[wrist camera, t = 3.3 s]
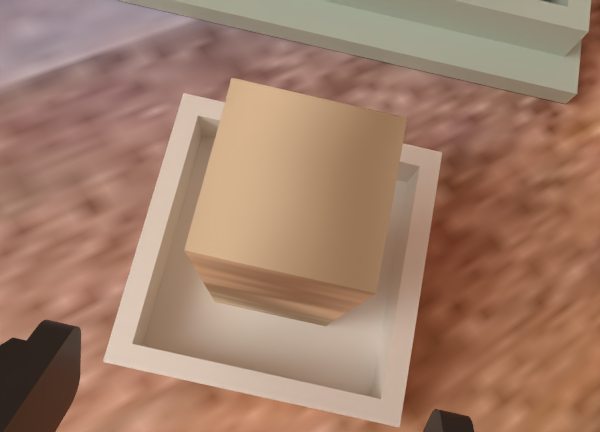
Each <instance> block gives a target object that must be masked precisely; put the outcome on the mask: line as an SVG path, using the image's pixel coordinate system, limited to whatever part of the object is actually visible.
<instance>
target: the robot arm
mask: <svg viewBox="0 0 600 432" xmlns="http://www.w3.org/2000/svg"><path fill="white" fill-rule="evenodd" d="M80 358H81V330H80V328H79V327H76V326H72V325H67V324H63V323H58V322H54V321H50V320H44V321H42V322H41V323H40V324H39V325H38V327H37V328H36V329H35V330H34V332H33V333H32V334H31V336H30V337H29V338H28V340H27V341H25V340H21V339H16V338H12V339H10V340H8V341H7V342H5V343H3V344H2V345H0V432H55V431H56V429H57V428H58V426H59V424H60V423H61V421H62V419H63V417H64V416H65V414H66V412H67V411H68V409H69V407H70V405H71V404H72V402H73V399H74V397H75V395H76V392H77V389H78V385H79V380H80ZM423 432H474V428H473V424H472V421H471V419H470V417H469V416H465V415H460V414H456V413H451V412H447V411H443V410H438V409H435V410H434V411H433V412H432V414H431V416H430V418H429V420H428V422H427V424H426V427H425V429H424V431H423Z"/></svg>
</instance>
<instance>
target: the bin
mask: <svg viewBox="0 0 600 432" xmlns="http://www.w3.org/2000/svg"><path fill="white" fill-rule="evenodd" d="M224 104H225V102H221V101H216V100H212V99H208V98H203V97H199V96H194V95H190V94H186V93H183V96H182V100H181V103H180V106H179V110H178V113H177V116H176V120H175V123H174V126H173V130H172V133H171V136H170V140H169V143H168V146H167V150H166V153H165V156H164V160H163V163H162V166H161V170H160V173H159V176H158V180H157V183H156V186H155V190H154V193H153V196H152V200H151V203H150V206H149V210H148V213H147V216H146V220H145V223H144V226H143V230H142V233H141V236H140V240H139V243H138V246H137V250H136V253H135V256H134V260H133V263H132V266H131V270H130V273H129V276H128V280H127V283H126V286H125V290H124V293H123V296H122V300H121V303H120V307H119V310H118V313H117V317H116V320H115V323H114V327H113V330H112V333H111V337H110V340H109V343H108V347H107V350H106V353H105V357H104V360H103V362H106V363H110V364H115V365H119V366H124V367H128V368H133V369H137V370H142V371H146V372H151V373H155V374H160V375H165V376H169V377H174V378H178V379H183V380H187V381H192V382H196V383H201V384H205V385H210V386H214V387H219V388H223V389H228V390H232V391H237V392H241V393H246V394H250V395H255V396H259V397H264V398H268V399H273V400H277V401H282V402H287V403H291V404H296V405H300V406H305V407H309V408H314V409H318V410H323V411H327V412H332V413H336V414H341V415H345V416H350V417H354V418H359V419H363V420H368V421H372V422H377V423H381V424H386V425H390V426H395V427H399V428H400V422H401V416H402V409H403V403H404V397H405V390H406V384H407V377H408V371H409V364H410V358H411V351H412V345H413V338H414V332H415V325H416V319H417V313H418V306H419V300H420V293H421V287H422V280H423V274H424V267H425V261H426V254H427V248H428V242H429V235H430V229H431V222H432V216H433V209H434V203H435V196H436V190H437V183H438V177H439V171H440V164H441V158H442V152H439V151H434V150H430V149H426V148H421V147H417V146H413V145H408V144H404V143H403V146H402V151H401V157H400V163H399V168H398V174H397V180H396V185H395V191H394V197H393V202H392V208H391V214H390V219H389V225H388V231H387V236H386V242H385V248H384V253H383V259H382V265H381V270H380V276H379V282H378V287H377V293H376V294H375V295H373V296H372V297H370V298H369V299H367V300H366V301H364V302H363V303H361V304H359V305H358V306H356V307H355V308H353V309H352V310H350V311H349V312H347V313H345V314H344V315H342V316H341V317H339V318H338V319H336V320H335V321H333V322H331V323H330V324H328V325H327V326H321V325H316V324H312V323H308V322H303V321H299V320H294V319H290V318H285V317H281V316H276V315H272V314H267V313H263V312H258V311H254V310H249V309H245V308H240V307H236V306H232V305H227V304H223V303H218V302H215V301H214V300H213V298H212V296H211V295H210V293H209V291H208V290H207V288H206V286H205V285H204V283H203V281H202V280H201V278H200V276H199V275H198V273H197V271H196V269H195V268H194V266H193V264H192V263H191V261H190V259H189V258H188V256H187V254H186V253H185V251H184V249H185V245H186V242H187V238H188V235H189V231H190V227H191V224H192V220H193V216H194V213H195V209H196V206H197V202H198V198H199V195H200V191H201V187H202V184H203V180H204V177H205V173H206V169H207V166H208V162H209V158H210V155H211V151H212V148H213V144H214V140H215V137H216V133H217V129H218V126H219V122H220V119H221V115H222V111H223V108H224Z"/></svg>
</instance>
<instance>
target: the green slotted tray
mask: <svg viewBox="0 0 600 432" xmlns="http://www.w3.org/2000/svg"><path fill="white" fill-rule="evenodd" d="M118 1H123V2H127V3H131V4H136V5H140V6H144V7H148V8H153V9H157V10H161V11H166V12H170V13H174V14H179V15H183V16H187V17H192V18H196V19H200V20H205V21H209V22H213V23H218V24H222V25H226V26H231V27H235V28H239V29H244V30H248V31H252V32H257V33H261V34H265V35H269V36H274V37H278V38H282V39H287V40H291V41H295V42H300V43H304V44H308V45H313V46H317V47H321V48H326V49H330V50H334V51H339V52H343V53H347V54H352V55H356V56H360V57H365V58H369V59H373V60H378V61H382V62H386V63H390V64H395V65H399V66H403V67H408V68H412V69H416V70H421V71H425V72H429V73H434V74H438V75H442V76H447V77H451V78H455V79H460V80H464V81H468V82H473V83H477V84H481V85H486V86H490V87H494V88H499V89H503V90H507V91H511V92H516V93H520V94H524V95H529V96H533V97H537V98H542V99H546V100H550V101H555V102H559V103H563V104H566V103H567V102H568V101H570V100H571V99H572V98H573V97H574V96H575V95H577V89H578V78H579V66H580V55H581V43H582V38H583V37H584V36H585V35H586V34H587V33H588V32H589V22H590V10H591V0H118Z"/></svg>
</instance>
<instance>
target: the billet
mask: <svg viewBox="0 0 600 432" xmlns="http://www.w3.org/2000/svg"><path fill="white" fill-rule="evenodd" d="M406 123H407V118H405V117H400V116H396V115H392V114H387V113H383V112H379V111H374V110H370V109H366V108H361V107H357V106H353V105H348V104H344V103H340V102H335V101H331V100H326V99H322V98H318V97H313V96H309V95H305V94H300V93H296V92H292V91H287V90H283V89H279V88H274V87H270V86H266V85H261V84H257V83H253V82H248V81H244V80H240V79H235V78H232V79H231V82H230V86H229V90H228V93H227V97H226V100H225V104H224V108H223V111H222V115H221V119H220V122H219V126H218V129H217V133H216V137H215V140H214V144H213V148H212V151H211V155H210V158H209V162H208V166H207V169H206V173H205V177H204V180H203V184H202V187H201V191H200V195H199V198H198V202H197V206H196V209H195V213H194V216H193V220H192V224H191V227H190V231H189V235H188V238H187V242H186V245H185V249H184V251H185V253H186V254H187V256H188V258H189V259H190V261H191V263H192V264H193V266H194V268H195V269H196V271H197V273H198V275H199V276H200V278H201V280H202V281H203V283H204V285H205V286H206V288H207V290H208V291H209V293H210V295H211V296H212V298H213V300H214V301H215V302H218V303H223V304H227V305H232V306H236V307H240V308H245V309H249V310H254V311H258V312H263V313H267V314H272V315H276V316H281V317H285V318H290V319H294V320H299V321H303V322H308V323H312V324H316V325H321V326H327V325H328V324H330V323H331V322H333V321H335V320H336V319H338V318H339V317H341V316H342V315H344V314H345V313H347V312H349V311H350V310H352V309H353V308H355V307H356V306H358V305H359V304H361V303H363V302H364V301H366V300H367V299H369V298H370V297H372V296H373V295H375V294H376V293H377V287H378V282H379V276H380V270H381V265H382V259H383V253H384V248H385V242H386V236H387V231H388V225H389V219H390V214H391V208H392V202H393V197H394V191H395V185H396V180H397V174H398V168H399V163H400V157H401V151H402V146H403V140H404V134H405V129H406Z"/></svg>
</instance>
